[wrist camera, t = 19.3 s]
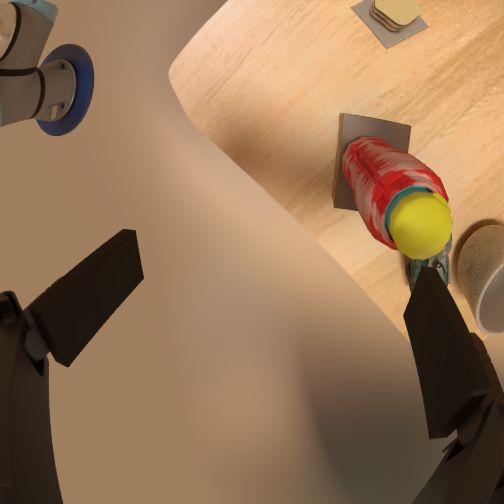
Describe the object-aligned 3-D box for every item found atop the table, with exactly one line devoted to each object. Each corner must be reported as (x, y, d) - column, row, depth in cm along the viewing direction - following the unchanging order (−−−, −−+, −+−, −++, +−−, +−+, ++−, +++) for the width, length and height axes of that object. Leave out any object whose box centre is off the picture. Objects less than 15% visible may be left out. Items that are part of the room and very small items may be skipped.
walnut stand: (332, 196, 46) (333, 207, 41) (340, 113, 40) (343, 113, 35) (388, 204, 45) (396, 217, 40) (400, 123, 38) (411, 125, 33)
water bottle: (418, 179, 36) (509, 266, 15) (380, 214, 40) (432, 329, 18) (363, 118, 34) (429, 132, 13) (324, 156, 38) (334, 222, 17)
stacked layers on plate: (394, -14, 26) (401, -25, 21) (428, 27, 28) (440, 19, 23) (350, 7, 30) (354, -4, 26) (386, 49, 33) (394, 42, 28)
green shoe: (385, 183, 43) (423, 232, 26) (419, 176, 41) (473, 220, 24) (399, 282, 51) (423, 358, 34) (429, 275, 49) (462, 347, 31)
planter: (503, 198, 38) (547, 231, 24) (514, 266, 42) (546, 307, 29) (437, 235, 45) (469, 281, 32) (455, 300, 50) (479, 350, 36)
